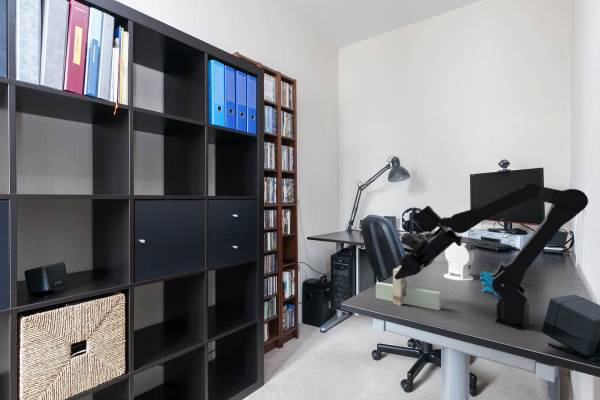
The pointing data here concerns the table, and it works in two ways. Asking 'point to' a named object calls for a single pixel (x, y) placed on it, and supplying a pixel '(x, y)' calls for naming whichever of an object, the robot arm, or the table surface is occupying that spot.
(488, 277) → the blue lumpy piece
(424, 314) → the table surface
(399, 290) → the ash notched plate
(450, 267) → the white bracket stand
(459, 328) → the table surface
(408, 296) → the sage slotted plate
